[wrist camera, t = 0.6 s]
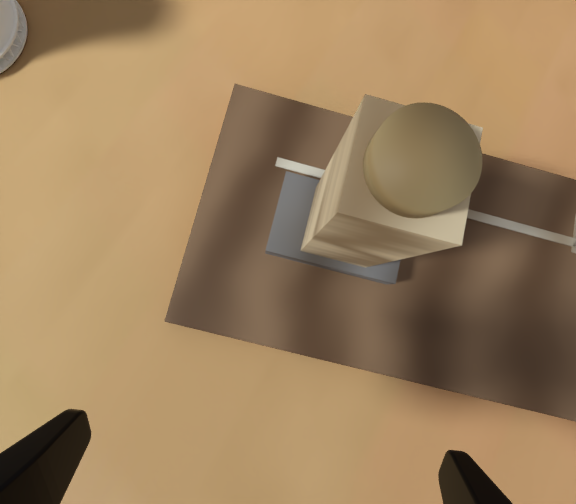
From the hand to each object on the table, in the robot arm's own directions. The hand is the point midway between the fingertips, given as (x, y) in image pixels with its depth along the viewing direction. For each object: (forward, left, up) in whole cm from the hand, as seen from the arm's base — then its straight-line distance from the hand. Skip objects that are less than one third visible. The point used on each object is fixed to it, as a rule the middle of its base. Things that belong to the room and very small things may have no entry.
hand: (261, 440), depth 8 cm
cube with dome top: (+5, -7, -12) cm, 15 cm away
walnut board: (0, -14, -13) cm, 19 cm away
